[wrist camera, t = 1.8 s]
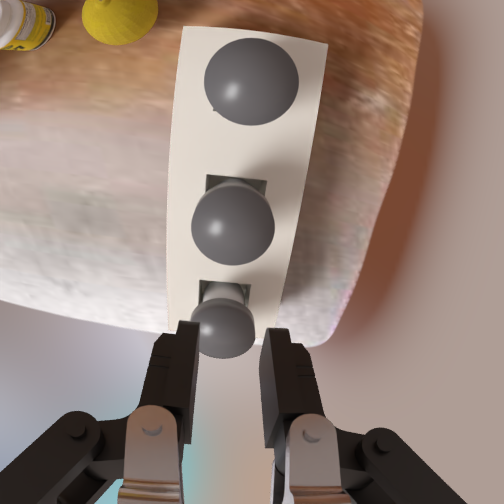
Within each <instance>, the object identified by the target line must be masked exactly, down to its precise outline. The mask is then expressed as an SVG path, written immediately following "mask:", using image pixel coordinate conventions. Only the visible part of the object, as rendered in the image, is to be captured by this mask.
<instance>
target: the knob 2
mask: <svg viewBox="0 0 504 504" xmlns="http://www.w3.org/2000/svg"><path fill="white" fill-rule="evenodd" d="M190 321H194V322H200V340H199V352H201V353H202V354H204V355H207V356H209V357H213V358H221V359H226V358H233V357H237V356H240V355H242V354H244V353H245V352H246V351H248V350H249V349H250V348H251V347H252V345H253V343H254V341H255V323H254V317H253V315H252V313H251V311H250V310H249V309H248V308H247V307H246V306H245V305H244V294H243V290H242V288H241V286H240V285H239V284H238V283H230V282H219V281H211V282H210V283H209V284H208V285H207V286H206V288H205V290H204V296H203V303H201V304H199V305H198V306H197V307H196V308H195V309H194V311H193V312H192V314H191V318H190Z"/></svg>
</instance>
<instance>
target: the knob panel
mask: <svg viewBox="0 0 504 504" xmlns="http://www.w3.org/2000/svg"><path fill="white" fill-rule="evenodd" d="M243 38H260V39H265V40H268V41H271V42H273V43H275V44H277V45H278V46H280V47H281V48H282V49H284V50H285V51H286V52H287V53H288V54H289V55H290V57H291V58H292V60H293V61H294V63H295V65H296V68H297V71H298V76H299V88H298V92H297V96H296V98H295V100H294V102H293V104H292V105H291V107H290V108H289V109H288V110H287V111H286V112H285V113H284V114H283V115H282V116H281V117H279V118H277V119H276V120H274V121H272V122H269V123H266V124H262V125H256V126H247V125H240V124H237V123H234V122H231V121H229V120H227V119H226V118H224V117H222V116H221V115H220V114H219V113H218V112H217V111H216V110H215V109H214V108H213V107H212V105H211V104H210V102H209V100H208V98H207V96H206V93H205V88H204V75H205V70H206V68H207V65H208V63H209V61H210V59H211V58H212V57H213V55H214V54H215V53H216V52H217V51H218V50H219V49H220V48H222V47H223V46H225V45H226V44H228V43H230V42H232V41H235V40H238V39H243ZM327 50H328V44H325V43H321V42H316V41H312V40H307V39H302V38H297V37H291V36H286V35H280V34H273V33H267V32H259V31H251V30H242V29H232V28H219V27H201V26H183V32H182V39H181V46H180V53H179V60H178V68H177V76H176V85H175V94H174V104H173V114H172V126H171V139H170V154H169V171H168V194H167V239H166V263H167V308H168V330H170V331H177V327H178V322H179V320H185V321H190V318H191V314H192V312H193V311H194V309H195V308H196V307H197V306H198V305H199V304H201V303H203V296H204V290H205V288H206V286H207V285H208V284H209V283H210V282H211V281H219V282H230V283H238V284H239V285H240V286H241V288H242V290H243V294H244V305H245V306H246V307H247V308H248V309H249V310H250V311H251V313H252V315H253V317H254V323H255V338H263V339H264V337H265V332H266V329H267V328H275V323H276V319H277V315H278V310H279V306H280V302H281V297H282V293H283V288H284V284H285V279H286V275H287V270H288V265H289V261H290V256H291V251H292V247H293V242H294V237H295V232H296V227H297V222H298V217H299V212H300V207H301V202H302V197H303V192H304V187H305V181H306V176H307V171H308V165H309V160H310V154H311V149H312V143H313V137H314V132H315V126H316V120H317V114H318V108H319V102H320V96H321V90H322V83H323V77H324V70H325V63H326V57H327ZM229 178H238V179H242V180H244V181H246V182H248V183H249V184H250V185H251V186H252V187H254V188H255V189H257V190H258V191H260V192H261V193H262V194H263V195H264V196H265V198H266V199H267V201H268V202H269V204H270V207H271V210H272V214H273V217H274V222H275V233H274V237H273V240H272V243H271V245H270V246H269V248H268V249H267V250H266V252H265V253H264V254H263V255H261V256H260V257H259V258H257V259H256V260H254V261H252V262H250V263H247V264H243V265H236V266H230V265H223V264H219V263H217V262H214V261H212V260H210V259H209V258H207V257H206V256H205V255H204V254H202V253H201V251H200V250H199V249H198V248H197V246H196V244H195V242H194V240H193V237H192V233H191V222H192V217H193V214H194V211H195V208H196V206H197V203H198V202H199V200H200V198H201V197H202V196H203V195H204V194H205V193H206V192H207V191H208V190H209V189H211V188H213V187H214V186H216V185H217V184H219V183H220V182H221V181H223V180H226V179H229Z"/></svg>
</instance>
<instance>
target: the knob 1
mask: <svg viewBox="0 0 504 504" xmlns="http://www.w3.org/2000/svg"><path fill="white" fill-rule="evenodd" d="M204 88H205V93H206V96H207V98H208V100H209V102H210V104H211V105H212V107H213V108H214V109H215V110H216V111H217V112H218V113H219V114H220V115H221V116H222V117H224V118H226V119H227V120H229V121H231V122H234V123H237V124H240V125H247V126H256V125H262V124H266V123H269V122H272V121H274V120H276V119H277V118H279V117H281V116H282V115H283V114H284V113H285V112H286V111H287V110H288V109H289V108H290V107H291V105H292V104H293V102H294V100H295V98H296V96H297V92H298V88H299V76H298V71H297V68H296V65H295V63H294V61H293V60H292V58H291V57H290V55H289V54H288V53H287V52H286V51H285V50H284V49H282V48H281V47H280V46H278V45H277V44H275V43H273V42H271V41H268V40H265V39H260V38H243V39H238V40H235V41H232V42H230V43H228V44H226V45H225V46H223V47H222V48H220V49H219V50H218V51H217V52H216V53H215V54H214V55H213V57H212V58H211V59H210V61H209V63H208V65H207V68H206V70H205V75H204Z"/></svg>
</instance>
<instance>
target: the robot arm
mask: <svg viewBox="0 0 504 504" xmlns="http://www.w3.org/2000/svg"><path fill="white" fill-rule="evenodd" d="M199 340H200V322H194V321H185V320H179V322H178V327H177V332H176V334H168V333H163V334H162V335H161V336H160V337H159V338H158V339H157V340H156V342H155V343H154V346H153V350H152V354H151V358H150V361H149V367H148V369H147V374H146V377H145V381H144V386H143V390H142V394H141V398H140V402H139V405H138V406H137V408H136V409H135V410H134V411H133V412H132V413H131V414H130V415H128V416H127V417H124V418H121V419H116V420H105V421H96V419H95V418H94V417H93V416H91V415H90V414H88V413H85V412H82V411H72V412H69V413H66V414H65V415H64V416H62V417H61V418H60V419H58V420H57V421H56V422H55V423H54V424H53V425H52V426H51V427H50V428H49V429H47V430H46V431H45V432H44V433H43V434H42V435H41V436H40V437H39V438H38V439H36V440H35V441H34V442H33V443H32V444H31V445H30V446H29V447H28V448H26V449H25V450H24V451H23V452H22V453H21V454H20V455H19V456H18V457H17V458H15V459H14V460H13V461H12V462H11V463H10V464H9V465H8V466H7V467H6V468H4V469H3V470H2V471H1V472H0V504H94V503H95V502H96V501H97V500H98V499H99V498H100V497H101V496H102V495H103V494H104V492H105V491H106V490H107V489H108V488H109V487H110V486H111V485H112V484H113V482H114V481H115V480H116V479H124V480H123V485H122V486H121V487H120V488H119V492H118V504H184V493H183V480H182V459H183V449H184V444H191V437H192V425H193V414H194V403H195V392H196V383H197V373H198V363H199V362H198V361H199ZM259 362H260V363H259V377H260V389H261V402H262V414H263V427H264V439H265V448H274V455H275V459H274V461H273V464H272V477H271V495H270V504H467V503H466V502H465V501H464V500H463V499H462V498H460V496H459V495H457V493H455V492H454V491H453V490H452V489H451V488H450V487H449V486H448V485H447V484H446V483H445V482H444V481H443V480H442V479H441V478H440V477H439V476H438V475H437V474H436V473H435V472H434V471H433V470H432V469H431V468H430V467H429V466H428V465H427V464H426V463H425V462H424V461H423V460H422V459H421V458H420V457H419V456H418V455H417V454H416V453H415V452H414V451H413V450H412V449H411V448H410V447H409V446H408V445H407V444H406V443H405V442H404V441H403V440H402V439H401V438H400V437H399V436H398V435H397V434H396V433H395V432H393V431H392V430H389V429H387V428H374V429H372V430H370V431H369V432H367V433H366V435H362V434H357V433H352V432H347V431H343V430H340V429H338V428H336V427H335V426H334V425H333V424H332V423H331V422H330V421H329V420H328V419H327V418H326V416H325V414H324V411H323V407H322V403H321V399H320V394H319V390H318V386H317V382H316V378H315V373H314V370H313V368H312V367H313V365H312V361H311V357H310V354H309V353H308V351H307V350H306V349H305V347H304V346H303V345H302V343H291V339H290V333H289V330H288V329H287V328H267V329H266V332H265V337H264V341H263V346H262V351H261V355H260V361H259Z"/></svg>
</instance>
